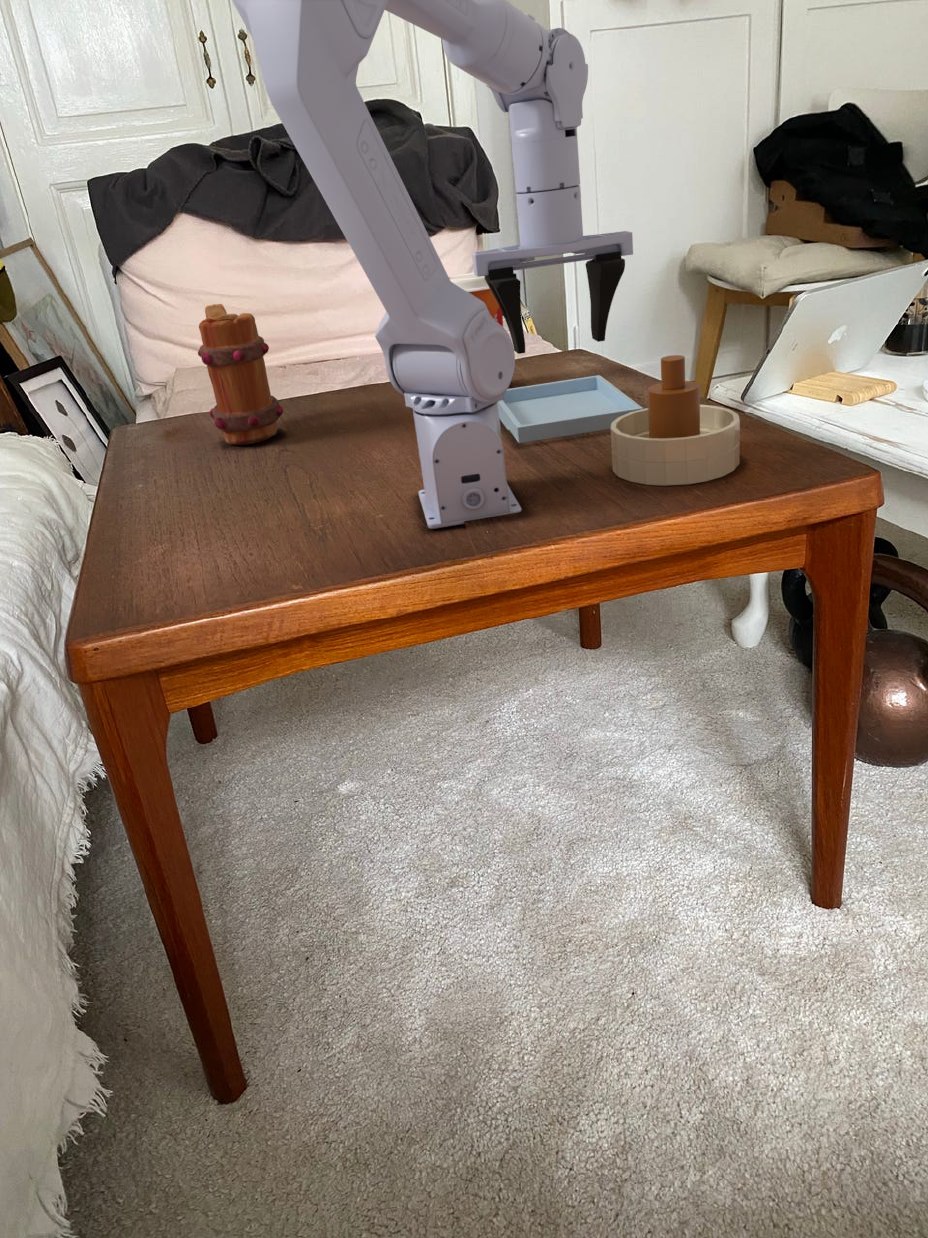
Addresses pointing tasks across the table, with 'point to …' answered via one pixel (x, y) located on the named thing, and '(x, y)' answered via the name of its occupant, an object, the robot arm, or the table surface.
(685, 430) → the bottle
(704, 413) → the bowl
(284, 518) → the table surface
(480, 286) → the paper cup
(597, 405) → the tray
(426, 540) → the table surface
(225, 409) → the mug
